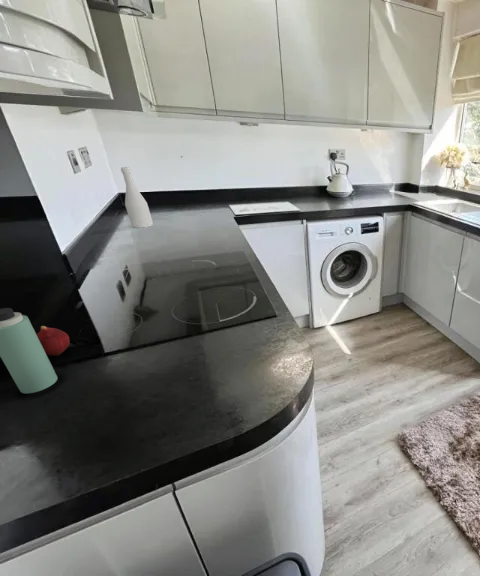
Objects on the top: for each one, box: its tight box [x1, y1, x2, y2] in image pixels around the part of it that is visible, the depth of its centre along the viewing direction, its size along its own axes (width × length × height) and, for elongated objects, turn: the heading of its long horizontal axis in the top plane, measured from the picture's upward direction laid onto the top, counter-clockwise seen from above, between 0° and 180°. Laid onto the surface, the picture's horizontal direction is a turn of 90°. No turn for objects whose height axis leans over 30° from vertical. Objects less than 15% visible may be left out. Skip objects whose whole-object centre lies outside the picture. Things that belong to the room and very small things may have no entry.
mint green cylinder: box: [0, 307, 58, 394], centre depth 64 cm, size 17×6×6 cm
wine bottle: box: [120, 166, 154, 229], centre depth 169 cm, size 10×10×30 cm
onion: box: [36, 325, 71, 357], centre depth 74 cm, size 6×6×8 cm
